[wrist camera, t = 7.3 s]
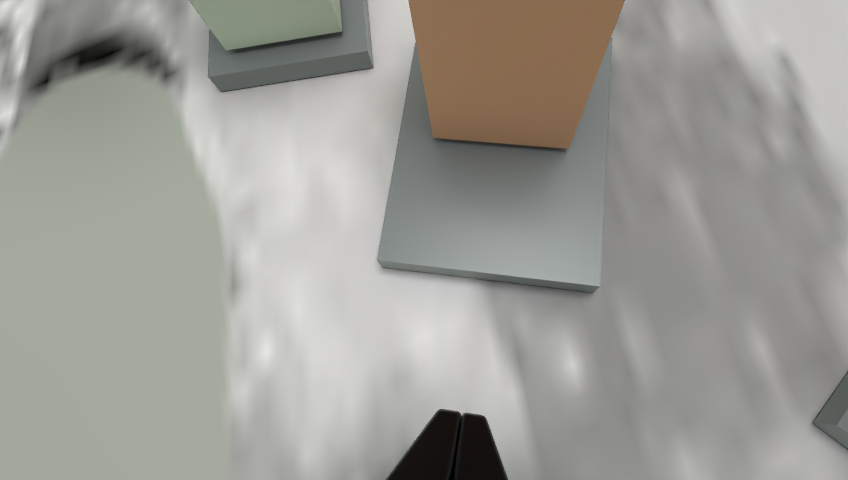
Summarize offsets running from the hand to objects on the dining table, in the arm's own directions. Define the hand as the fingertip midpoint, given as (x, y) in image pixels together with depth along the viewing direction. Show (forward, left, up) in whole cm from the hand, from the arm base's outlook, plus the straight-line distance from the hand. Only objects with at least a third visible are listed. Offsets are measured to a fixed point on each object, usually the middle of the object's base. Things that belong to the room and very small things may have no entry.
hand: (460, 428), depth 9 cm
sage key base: (+12, +12, -7) cm, 18 cm away
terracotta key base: (+9, +2, -7) cm, 11 cm away
